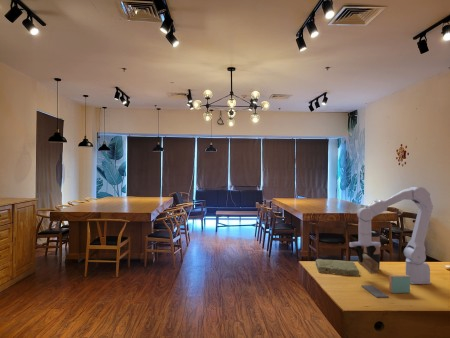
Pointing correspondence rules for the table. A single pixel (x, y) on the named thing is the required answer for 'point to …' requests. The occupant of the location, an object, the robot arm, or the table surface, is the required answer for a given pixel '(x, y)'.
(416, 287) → the table surface
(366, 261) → the brown wooden plank
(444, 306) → the table surface
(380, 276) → the table surface
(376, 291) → the mat
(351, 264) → the decorative tile
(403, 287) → the tile
